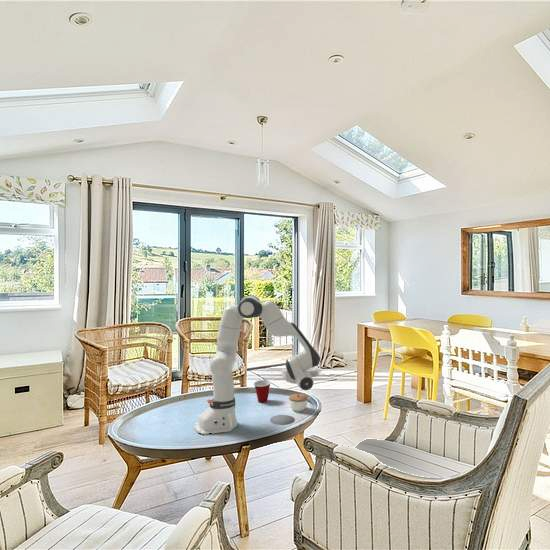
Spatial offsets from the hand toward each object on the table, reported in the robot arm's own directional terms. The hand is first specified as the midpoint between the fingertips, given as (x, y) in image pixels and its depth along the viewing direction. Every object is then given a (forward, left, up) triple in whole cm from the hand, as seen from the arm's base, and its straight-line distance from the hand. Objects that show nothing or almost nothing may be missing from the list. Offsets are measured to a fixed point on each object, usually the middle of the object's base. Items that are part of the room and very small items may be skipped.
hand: (297, 368), depth 217 cm
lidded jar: (0, -1, -24) cm, 24 cm away
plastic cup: (-13, +22, -24) cm, 35 cm away
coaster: (-15, -10, -24) cm, 30 cm away
